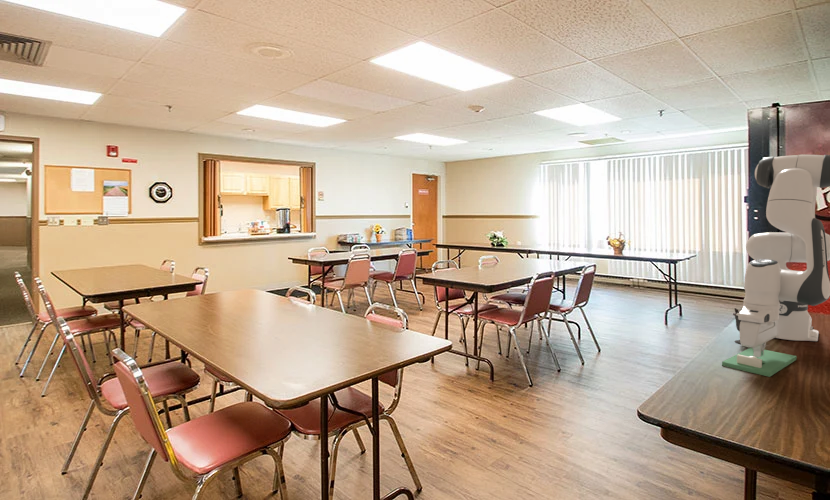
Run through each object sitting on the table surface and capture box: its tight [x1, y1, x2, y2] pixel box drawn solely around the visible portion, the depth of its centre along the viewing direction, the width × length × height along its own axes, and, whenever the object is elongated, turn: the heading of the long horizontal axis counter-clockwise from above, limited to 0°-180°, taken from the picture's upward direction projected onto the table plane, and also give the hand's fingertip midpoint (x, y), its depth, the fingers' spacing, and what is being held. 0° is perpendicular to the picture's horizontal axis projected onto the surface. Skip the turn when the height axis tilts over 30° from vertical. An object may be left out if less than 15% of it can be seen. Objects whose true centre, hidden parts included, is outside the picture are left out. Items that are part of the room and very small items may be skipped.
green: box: [721, 347, 797, 378], centre depth 139 cm, size 24×12×4 cm, turn 125°
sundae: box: [732, 307, 743, 345], centre depth 159 cm, size 7×7×15 cm
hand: (758, 356), depth 138 cm, fingers closed
